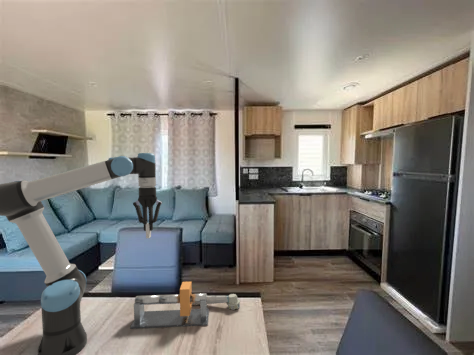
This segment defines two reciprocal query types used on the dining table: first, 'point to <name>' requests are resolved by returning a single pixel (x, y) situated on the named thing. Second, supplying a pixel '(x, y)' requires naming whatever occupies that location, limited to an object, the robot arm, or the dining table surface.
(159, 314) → the pipe rig
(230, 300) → the white blue-tipped device
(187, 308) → the collar
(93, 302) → the dining table surface
